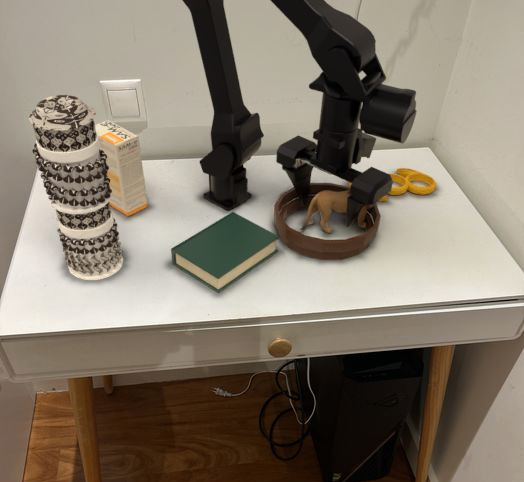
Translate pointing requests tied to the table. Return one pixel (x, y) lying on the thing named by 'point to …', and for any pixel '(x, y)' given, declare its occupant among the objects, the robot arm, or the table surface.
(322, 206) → the lion figurine
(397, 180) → the novelty glasses
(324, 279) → the table surface
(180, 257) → the book
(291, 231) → the ring
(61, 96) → the decorative candle
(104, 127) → the supplement box
